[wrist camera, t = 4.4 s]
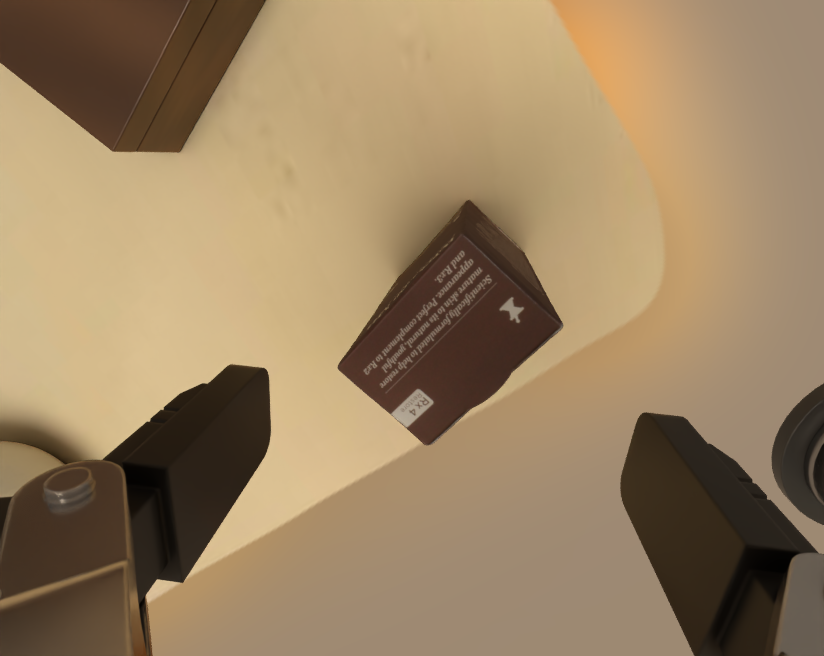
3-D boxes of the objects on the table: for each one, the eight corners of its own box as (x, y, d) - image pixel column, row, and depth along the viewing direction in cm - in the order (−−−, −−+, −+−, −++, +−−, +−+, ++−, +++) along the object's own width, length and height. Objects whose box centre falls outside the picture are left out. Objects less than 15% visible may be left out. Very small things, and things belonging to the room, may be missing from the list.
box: (463, 193, 24) (463, 226, 13) (526, 253, 25) (579, 334, 13) (388, 278, 26) (329, 371, 15) (448, 330, 26) (436, 458, 15)
